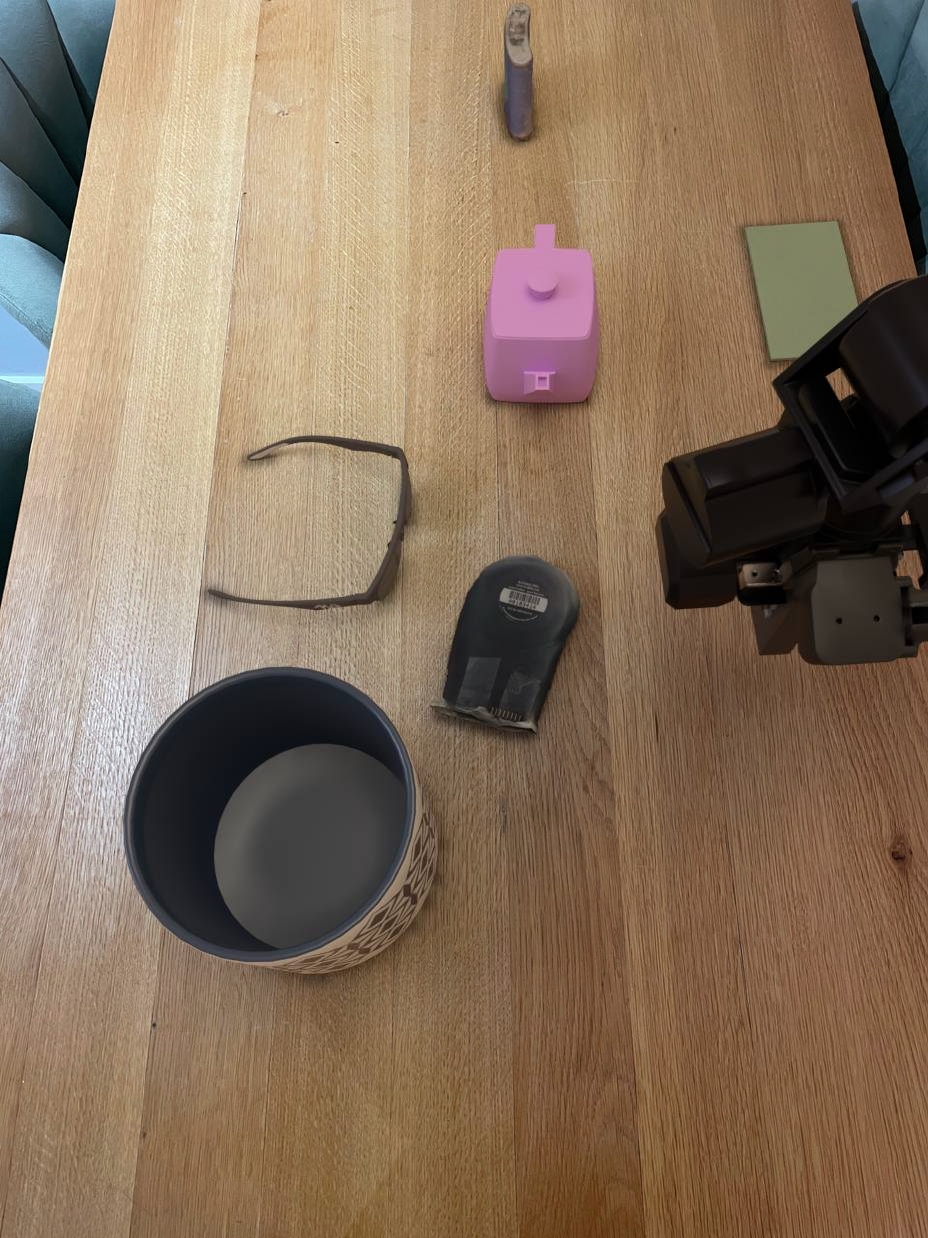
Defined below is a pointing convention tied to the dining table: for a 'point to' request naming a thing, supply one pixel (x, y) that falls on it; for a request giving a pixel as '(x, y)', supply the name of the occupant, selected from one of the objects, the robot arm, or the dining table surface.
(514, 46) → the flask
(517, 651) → the electronic device
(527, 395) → the teapot
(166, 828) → the planter
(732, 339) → the dining table surface
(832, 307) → the mat
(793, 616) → the dark grey rectangular prism
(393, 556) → the sunglasses
